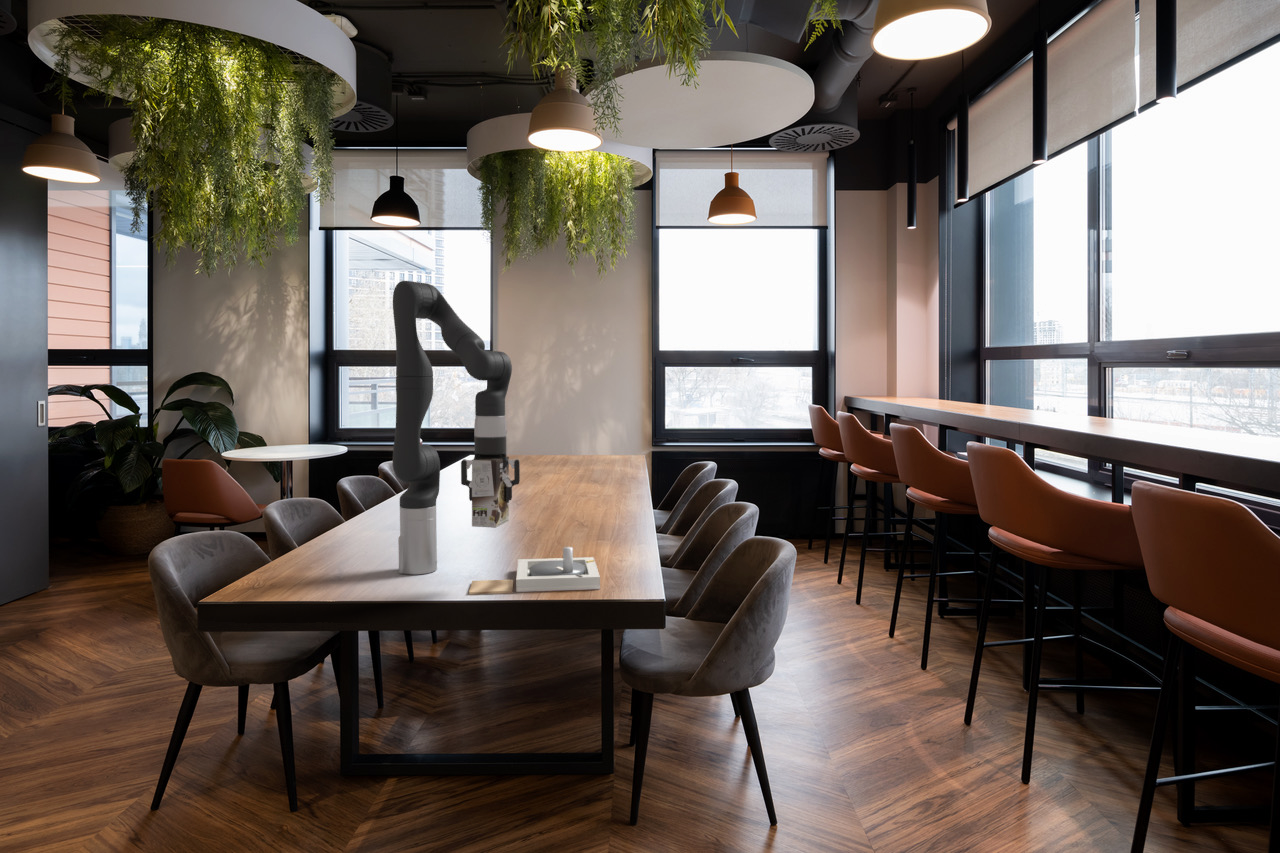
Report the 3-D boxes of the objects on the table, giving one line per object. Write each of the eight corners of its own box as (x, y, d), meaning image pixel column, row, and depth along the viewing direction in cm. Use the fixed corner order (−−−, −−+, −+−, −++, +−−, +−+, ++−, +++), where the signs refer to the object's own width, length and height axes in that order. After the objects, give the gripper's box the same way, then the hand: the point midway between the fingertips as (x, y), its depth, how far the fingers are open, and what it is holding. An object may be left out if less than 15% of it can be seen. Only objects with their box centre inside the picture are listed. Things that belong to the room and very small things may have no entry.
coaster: (468, 594, 174) (468, 592, 174) (472, 583, 184) (472, 580, 184) (512, 593, 175) (512, 590, 175) (513, 581, 185) (513, 579, 185)
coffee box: (497, 528, 174) (496, 459, 172) (470, 527, 175) (470, 459, 174) (510, 521, 182) (510, 455, 181) (485, 519, 184) (485, 455, 183)
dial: (519, 572, 189) (519, 543, 188) (565, 564, 197) (565, 536, 197) (547, 585, 178) (547, 553, 177) (595, 575, 186) (595, 545, 186)
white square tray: (516, 591, 176) (516, 578, 176) (518, 570, 196) (518, 558, 196) (600, 589, 179) (600, 575, 179) (593, 568, 199) (593, 556, 199)
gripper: (458, 435, 172) (458, 505, 173) (520, 435, 174) (520, 504, 175) (461, 433, 180) (462, 500, 181) (521, 433, 182) (521, 499, 183)
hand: (490, 502), depth 178 cm, fingers closed on coffee box, 7 cm apart
